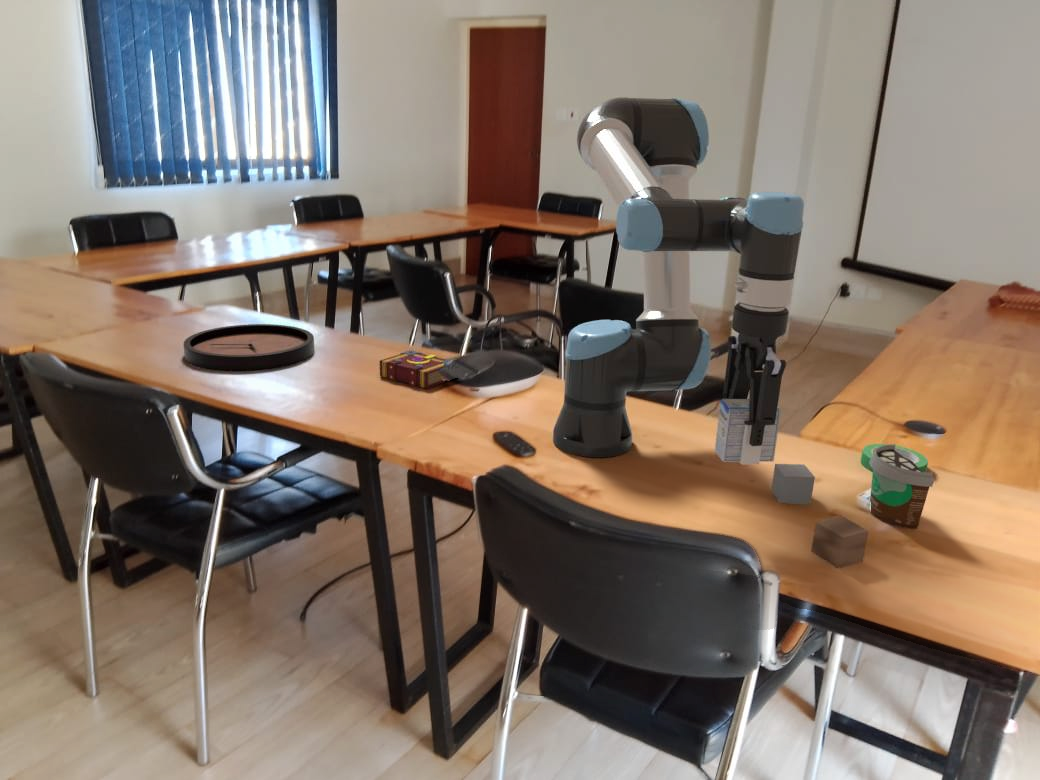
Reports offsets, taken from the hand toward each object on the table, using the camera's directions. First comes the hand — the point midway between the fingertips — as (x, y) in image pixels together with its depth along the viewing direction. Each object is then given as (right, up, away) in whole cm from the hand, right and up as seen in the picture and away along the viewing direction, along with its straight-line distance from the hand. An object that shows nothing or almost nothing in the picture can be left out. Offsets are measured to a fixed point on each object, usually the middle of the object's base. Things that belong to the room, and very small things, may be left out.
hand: (741, 455), depth 122 cm
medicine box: (0, 0, 0) cm, 1 cm away
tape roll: (+35, -5, +27) cm, 45 cm away
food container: (+25, -10, +8) cm, 29 cm away
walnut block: (+13, -14, -5) cm, 20 cm away
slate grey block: (+12, -8, +13) cm, 20 cm away
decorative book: (-58, +12, +69) cm, 91 cm away
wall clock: (-102, +19, +84) cm, 133 cm away
